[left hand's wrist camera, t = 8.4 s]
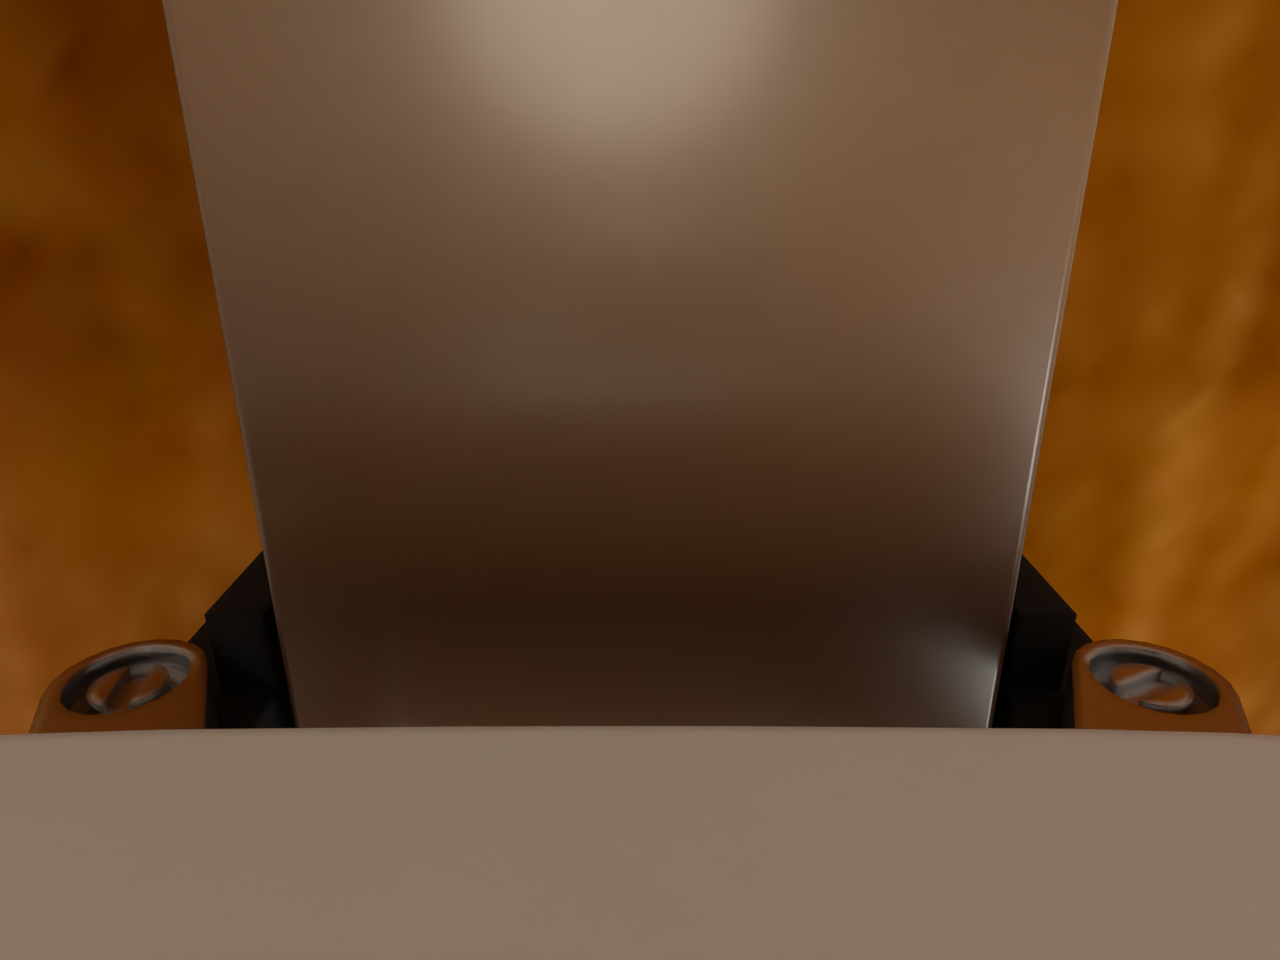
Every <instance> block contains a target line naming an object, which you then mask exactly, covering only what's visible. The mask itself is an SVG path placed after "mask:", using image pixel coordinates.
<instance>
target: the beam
mask: <svg viewBox="0 0 1280 960" xmlns="http://www.w3.org/2000/svg"><path fill="white" fill-rule="evenodd" d="M162 4H163V10H164V15H165V20H166V26H167V31H168V37H169V42H170V48H171V53H172V59H173V64H174V69H175V75H176V80H177V86H178V91H179V97H180V102H181V107H182V113H183V118H184V124H185V129H186V135H187V140H188V146H189V151H190V156H191V162H192V167H193V173H194V178H195V184H196V189H197V195H198V200H199V205H200V211H201V216H202V222H203V227H204V233H205V238H206V243H207V249H208V254H209V260H210V265H211V271H212V276H213V282H214V287H215V292H216V298H217V303H218V309H219V314H220V320H221V325H222V330H223V336H224V341H225V347H226V352H227V358H228V363H229V369H230V374H231V379H232V385H233V390H234V396H235V401H236V407H237V412H238V417H239V423H240V428H241V434H242V439H243V445H244V450H245V456H246V461H247V466H248V472H249V477H250V483H251V488H252V494H253V499H254V504H255V510H256V515H257V521H258V526H259V532H260V537H261V543H262V548H263V553H264V559H265V564H266V570H267V575H268V581H269V586H270V592H271V597H272V602H273V608H274V613H275V619H276V624H277V630H278V635H279V640H280V646H281V651H282V657H283V662H284V668H285V673H286V679H287V684H288V689H289V695H290V700H291V706H292V711H293V717H294V722H295V727H296V728H360V727H455V726H789V727H909V728H992V723H993V717H994V711H995V706H996V700H997V694H998V688H999V683H1000V677H1001V671H1002V665H1003V660H1004V654H1005V648H1006V642H1007V637H1008V631H1009V625H1010V619H1011V614H1012V608H1013V602H1014V596H1015V591H1016V585H1017V579H1018V573H1019V568H1020V562H1021V556H1022V550H1023V545H1024V539H1025V533H1026V527H1027V522H1028V516H1029V510H1030V505H1031V499H1032V493H1033V487H1034V482H1035V476H1036V470H1037V464H1038V459H1039V453H1040V447H1041V441H1042V436H1043V430H1044V424H1045V418H1046V413H1047V407H1048V401H1049V395H1050V390H1051V384H1052V378H1053V372H1054V367H1055V361H1056V355H1057V349H1058V344H1059V338H1060V332H1061V326H1062V321H1063V315H1064V309H1065V303H1066V298H1067V292H1068V286H1069V280H1070V275H1071V269H1072V263H1073V257H1074V252H1075V246H1076V240H1077V234H1078V229H1079V223H1080V217H1081V211H1082V206H1083V200H1084V194H1085V188H1086V183H1087V177H1088V171H1089V165H1090V160H1091V154H1092V148H1093V142H1094V137H1095V131H1096V125H1097V119H1098V114H1099V108H1100V102H1101V96H1102V91H1103V85H1104V79H1105V73H1106V68H1107V62H1108V56H1109V50H1110V45H1111V39H1112V33H1113V27H1114V22H1115V16H1116V10H1117V4H1118V0H162Z"/></svg>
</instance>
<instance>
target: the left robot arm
mask: <svg viewBox="0 0 1280 960" xmlns="http://www.w3.org/2000/svg"><path fill="white" fill-rule="evenodd" d="M1076 615H1077V614H1076V613H1075V612H1074V611H1073V610H1072V609H1071V608H1070V607H1069V605H1068V604H1067V603H1066V602H1065V601H1064V600H1063V599H1062V598H1061V597H1060V596H1059V594H1058V593H1057V592H1056V591H1055V590H1054V589H1053V588H1052V587H1051V586H1050V585H1049V583H1048V582H1047V581H1046V580H1045V579H1044V578H1043V577H1042V576H1041V575H1040V574H1039V572H1038V571H1037V570H1036V569H1035V568H1034V567H1033V566H1032V565H1031V564H1030V562H1029V561H1028V560H1027V559H1026V558H1025V557H1024V556H1023V555H1022V556H1021V562H1020V568H1019V573H1018V579H1017V585H1016V591H1015V596H1014V602H1013V608H1012V614H1011V619H1010V625H1009V631H1008V637H1007V642H1006V648H1005V654H1004V660H1003V665H1002V671H1001V677H1000V683H999V688H998V694H997V700H996V706H995V711H994V717H993V723H992V728H909V727H789V726H455V727H360V728H296V727H295V722H294V717H293V711H292V706H291V700H290V695H289V689H288V684H287V679H286V673H285V668H284V662H283V657H282V651H281V646H280V640H279V635H278V630H277V624H276V619H275V613H274V608H273V602H272V597H271V592H270V586H269V581H268V575H267V570H266V564H265V559H264V553H263V551H262V552H261V553H260V554H259V555H258V556H257V557H256V558H255V560H254V561H253V562H252V563H251V564H250V565H249V566H248V567H247V568H246V569H245V571H244V572H243V573H242V574H241V575H240V576H239V577H238V578H237V579H236V580H235V582H234V583H233V584H232V585H231V586H230V587H229V588H228V589H227V590H226V591H225V593H224V594H223V595H222V596H221V597H220V598H219V599H218V600H217V601H216V602H215V604H214V605H213V606H212V607H211V608H210V609H209V610H208V611H207V612H206V614H205V619H206V622H205V623H204V625H203V626H202V627H201V628H200V629H199V630H198V631H197V632H196V634H195V635H194V636H193V637H192V638H191V639H190V640H189V641H188V642H185V641H181V640H166V639H156V640H148V641H140V642H133V643H129V644H126V645H122V646H118V647H114V648H110V649H108V650H105V651H103V652H100V653H98V654H95V655H93V656H90V657H88V658H85V659H84V660H82V661H80V662H78V663H77V664H75V665H73V666H71V667H70V668H68V669H66V670H65V671H64V672H62V673H61V674H60V675H59V676H58V677H57V678H55V679H54V680H53V681H52V682H51V683H50V684H49V685H48V687H47V689H46V690H45V692H44V693H43V695H42V696H41V699H40V702H39V705H38V708H37V710H36V713H35V716H34V719H33V722H32V725H31V728H30V731H29V734H16V735H2V736H0V960H1280V736H1277V735H1260V734H1251V731H1250V728H1249V725H1248V722H1247V719H1246V716H1245V713H1244V710H1243V708H1242V705H1241V702H1240V699H1239V696H1238V695H1237V693H1236V692H1235V690H1234V689H1233V687H1232V685H1231V684H1230V683H1229V682H1228V681H1227V680H1226V679H1225V678H1223V677H1222V676H1221V675H1220V674H1219V673H1218V672H1216V671H1215V670H1214V669H1212V668H1210V667H1209V666H1207V665H1205V664H1203V663H1202V662H1200V661H1198V660H1196V659H1195V658H1192V657H1190V656H1187V655H1185V654H1182V653H1180V652H1177V651H1175V650H1172V649H1170V648H1166V647H1162V646H1158V645H1154V644H1151V643H1147V642H1140V641H1132V640H1124V639H1114V640H1099V641H1095V642H1093V641H1092V640H1091V639H1090V638H1089V637H1088V635H1087V634H1086V633H1085V632H1084V631H1083V630H1082V629H1081V628H1080V626H1079V625H1078V624H1077V623H1076V622H1075V620H1076Z"/></svg>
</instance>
